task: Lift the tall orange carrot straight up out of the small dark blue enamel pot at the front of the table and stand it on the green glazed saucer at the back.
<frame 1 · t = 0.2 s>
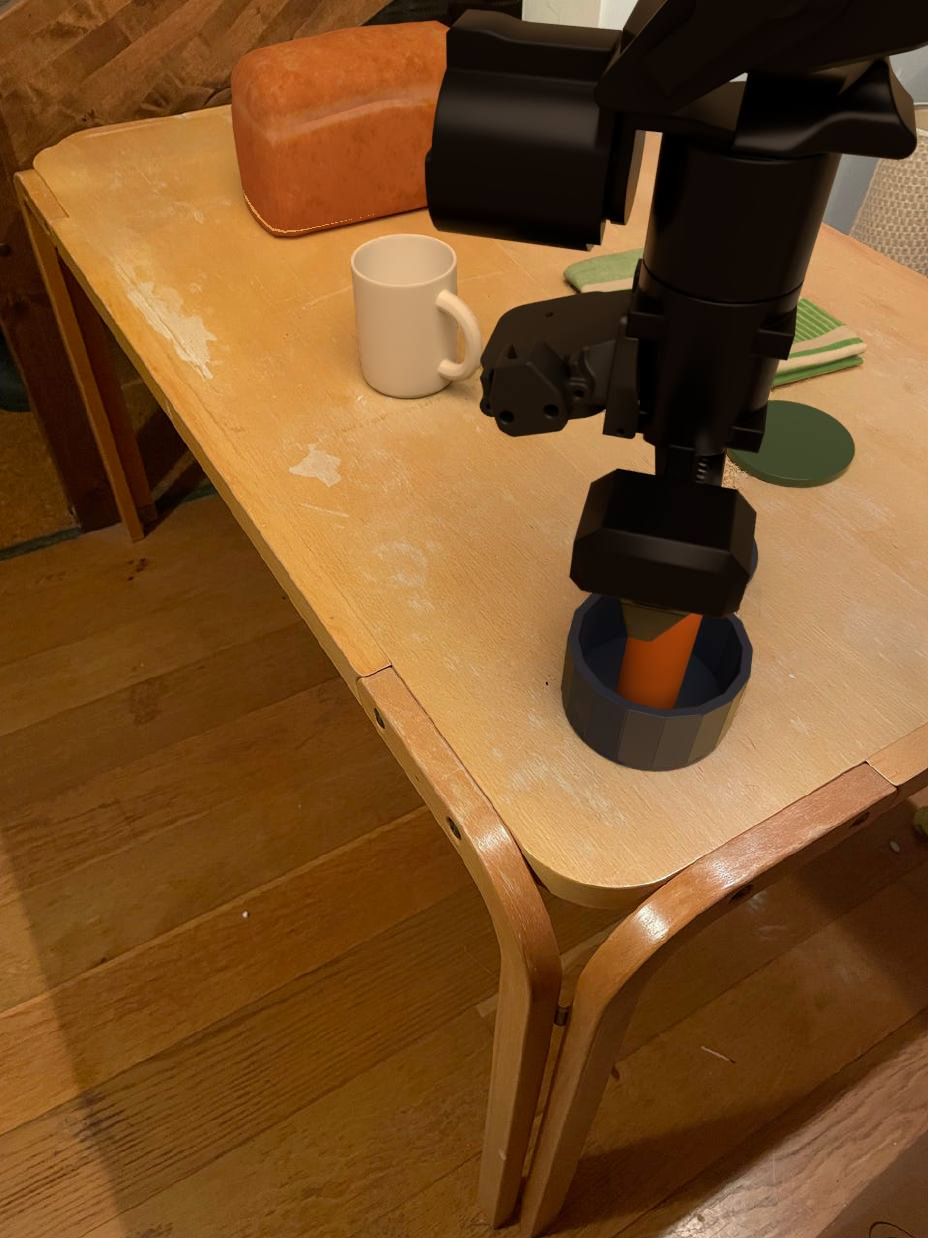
hand: (653, 567, 44), 13 cm above the table, tool pointing down, fingers open, 9 cm apart
lid: (674, 547, 62), point 1 cm above the table
carrot: (646, 694, 54), resting on pot
saucer: (786, 445, 70), on the table
pot: (645, 699, 54), on the table
bread: (368, 197, 100), on the table
dish towel: (705, 324, 82), on the table
mug: (425, 383, 76), on the table
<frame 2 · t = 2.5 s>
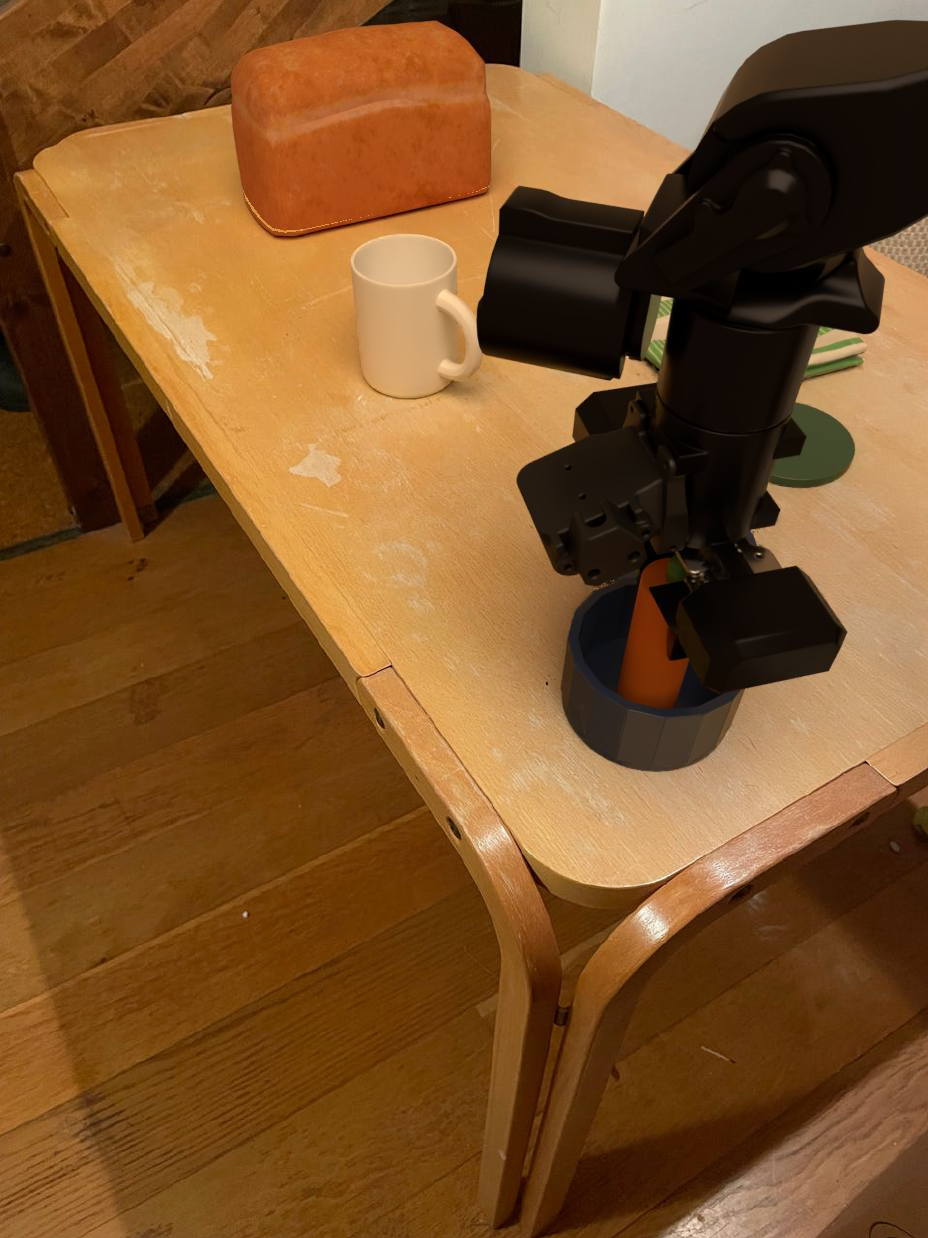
hand: (663, 630, 49), 7 cm above the table, tool pointing down, fingers closed on carrot, 3 cm apart
carrot: (646, 694, 54), point 1 cm above the table, touching gripper, pot
everything else where it was.
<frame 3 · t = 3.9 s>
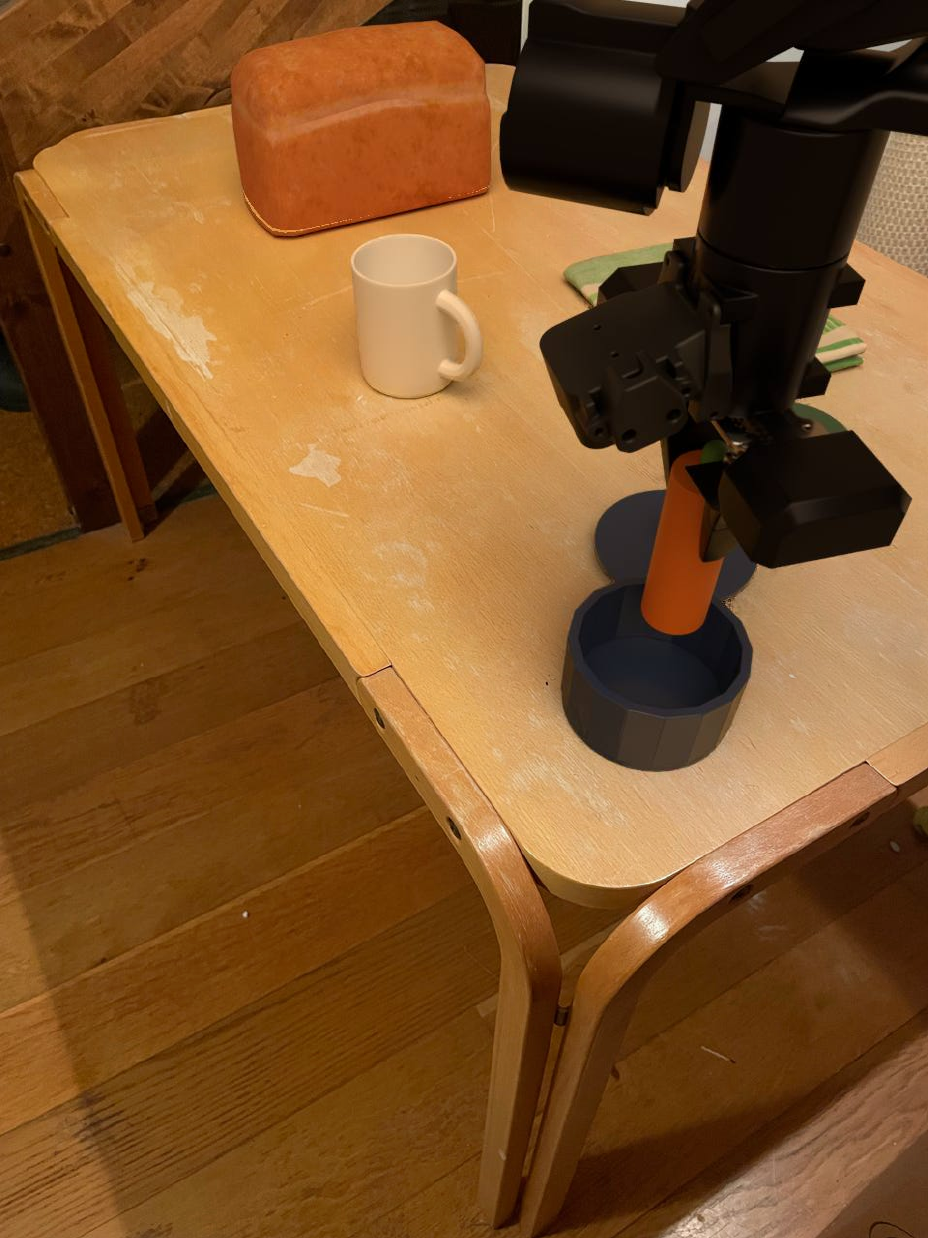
hand: (693, 532, 46), 13 cm above the table, tool pointing down, fingers closed on carrot, 3 cm apart
carrot: (672, 610, 50), point 7 cm above the table, touching gripper
everything else where it was.
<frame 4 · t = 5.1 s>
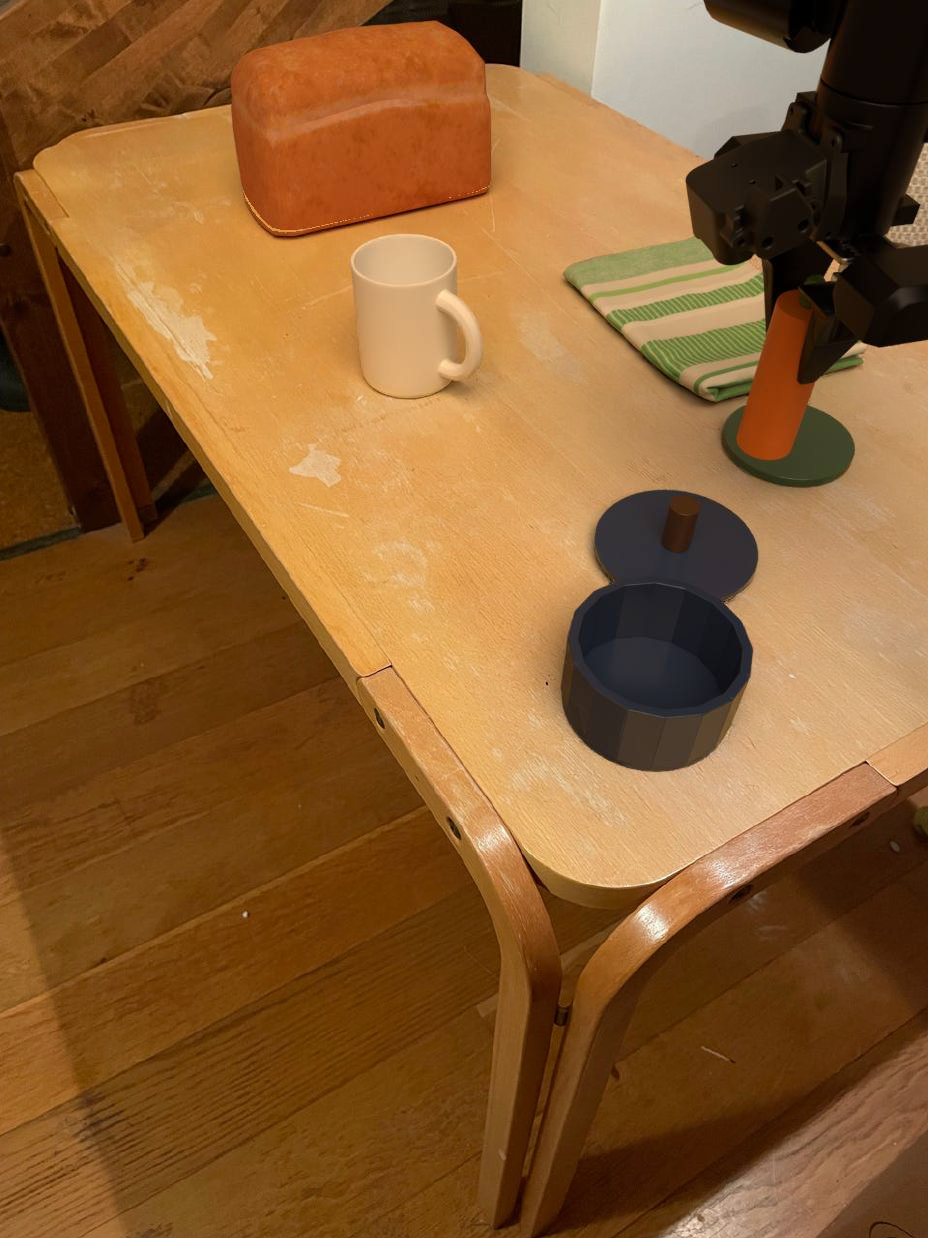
hand: (789, 364, 55), 13 cm above the table, tool pointing down, fingers closed on carrot, 3 cm apart
carrot: (763, 442, 59), point 7 cm above the table, touching gripper
everything else where it was.
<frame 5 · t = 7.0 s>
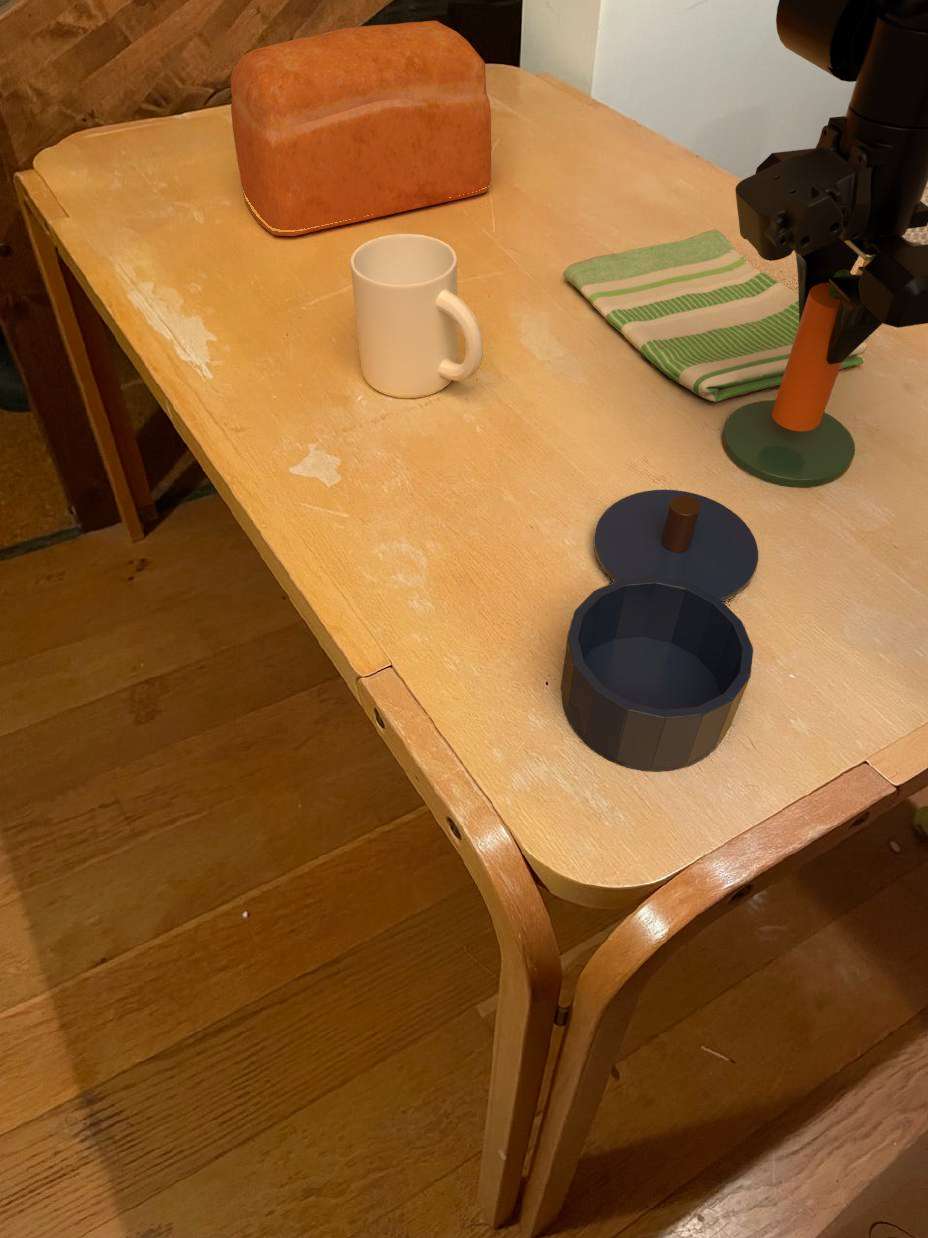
hand: (820, 347, 64), 9 cm above the table, tool pointing down, fingers closed on carrot, 3 cm apart
carrot: (795, 417, 68), point 3 cm above the table, touching gripper
everything else where it was.
when the fingers open (7 cm above the table, at t = 8.0 s): carrot stays where it is, resting on saucer.
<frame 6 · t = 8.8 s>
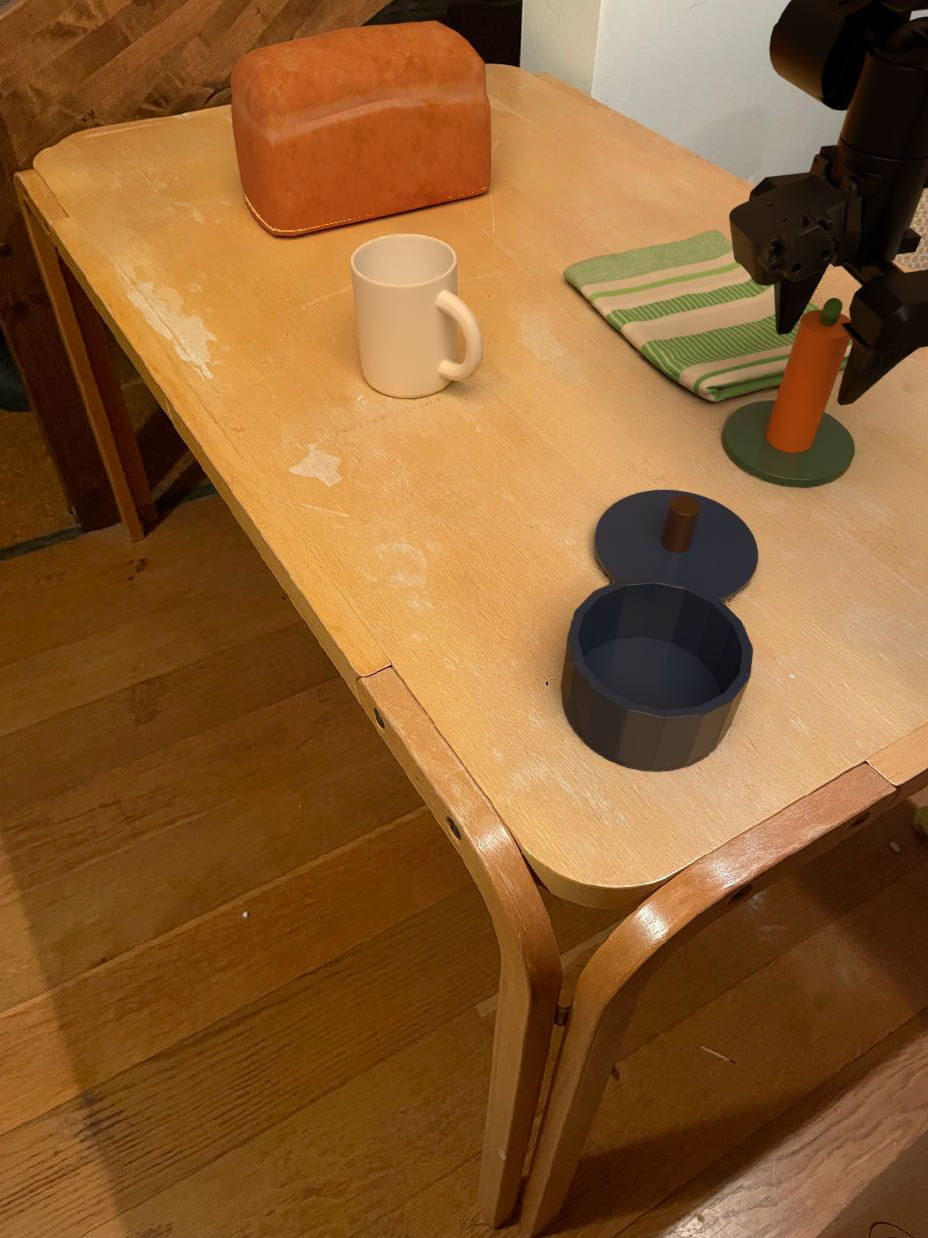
hand: (812, 366, 65), 7 cm above the table, tool pointing down, fingers open, 9 cm apart
carrot: (788, 438, 70), point 1 cm above the table, touching saucer
everything else where it was.
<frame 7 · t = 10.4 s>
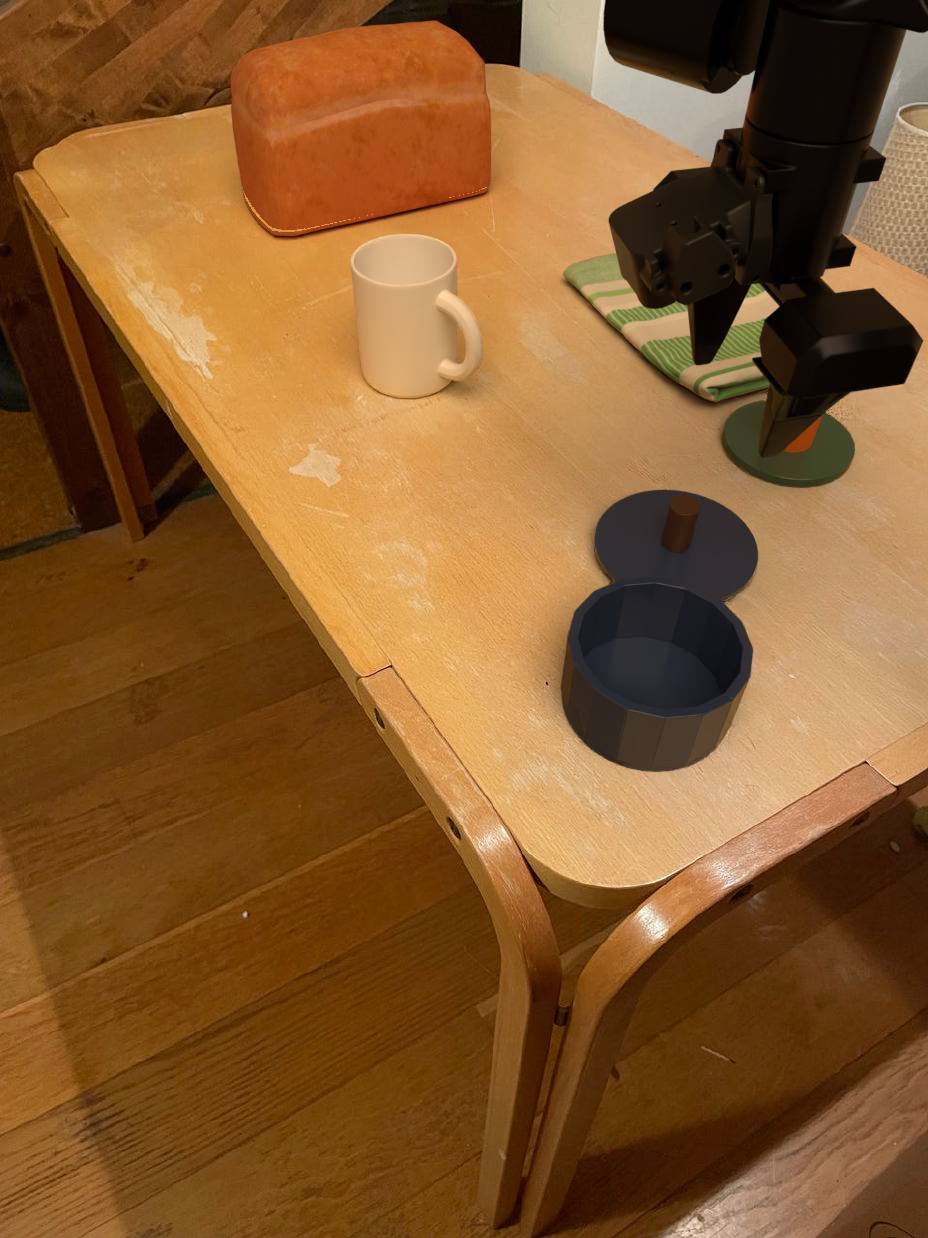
hand: (732, 406, 52), 13 cm above the table, tool pointing down, fingers open, 9 cm apart
nothing on the table moved.
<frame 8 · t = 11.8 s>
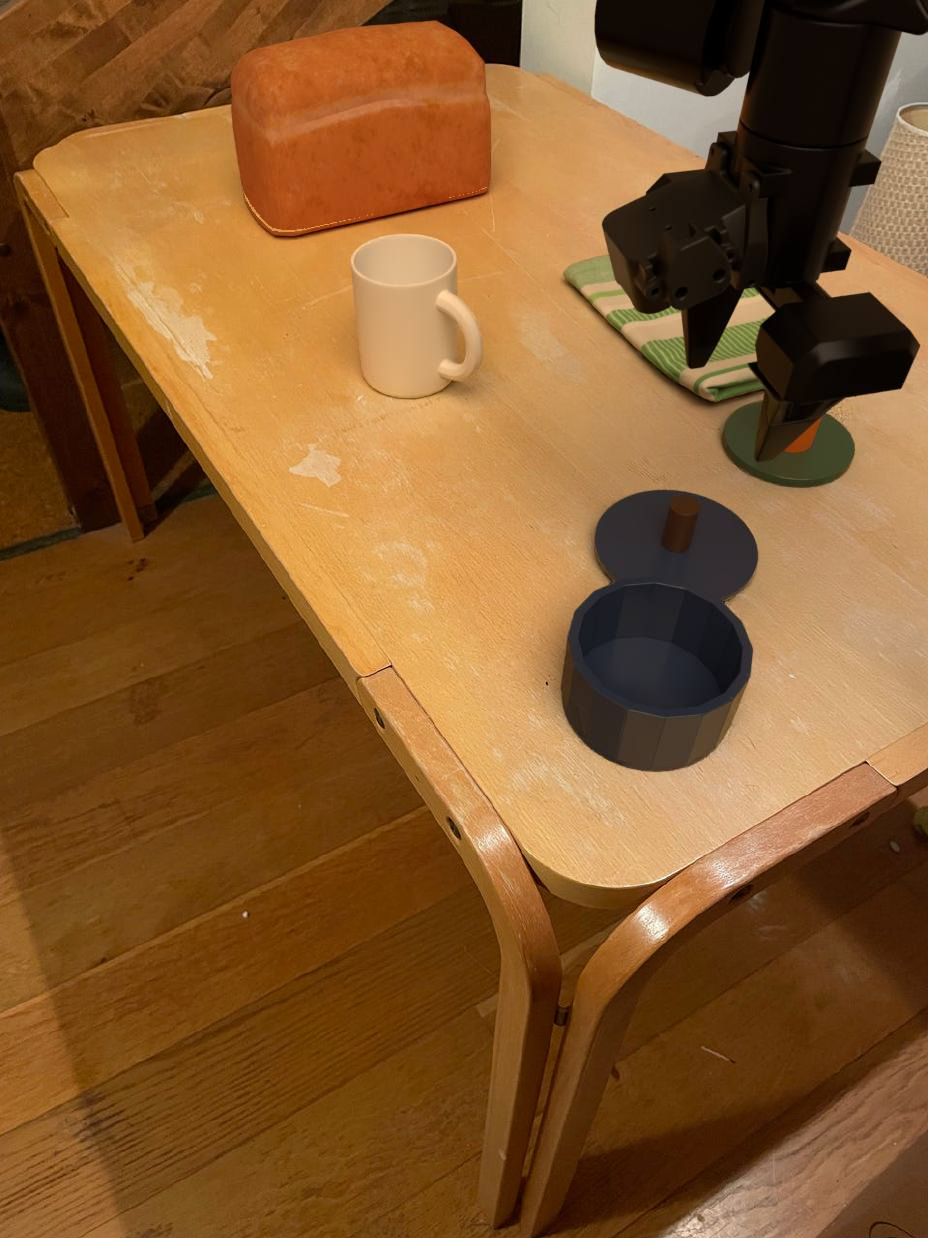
hand: (727, 410, 52), 13 cm above the table, tool pointing down, fingers open, 9 cm apart
nothing on the table moved.
at the end: carrot inside the target area on the saucer (0.1 cm from its centre), point 0.8 cm above the saucer's base; carrot touching saucer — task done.
